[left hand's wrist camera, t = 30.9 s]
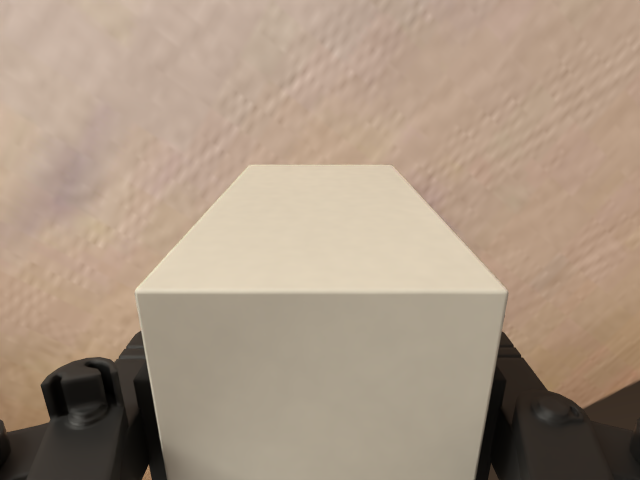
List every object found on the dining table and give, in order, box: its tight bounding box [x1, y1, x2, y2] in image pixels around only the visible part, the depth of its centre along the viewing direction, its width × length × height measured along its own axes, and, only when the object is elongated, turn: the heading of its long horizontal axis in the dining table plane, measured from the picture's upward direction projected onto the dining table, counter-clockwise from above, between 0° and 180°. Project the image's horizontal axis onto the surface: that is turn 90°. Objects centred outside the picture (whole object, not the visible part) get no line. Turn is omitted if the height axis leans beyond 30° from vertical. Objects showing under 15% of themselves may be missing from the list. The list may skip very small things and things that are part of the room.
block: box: [135, 165, 508, 480], centre depth 13 cm, size 8×6×11 cm
